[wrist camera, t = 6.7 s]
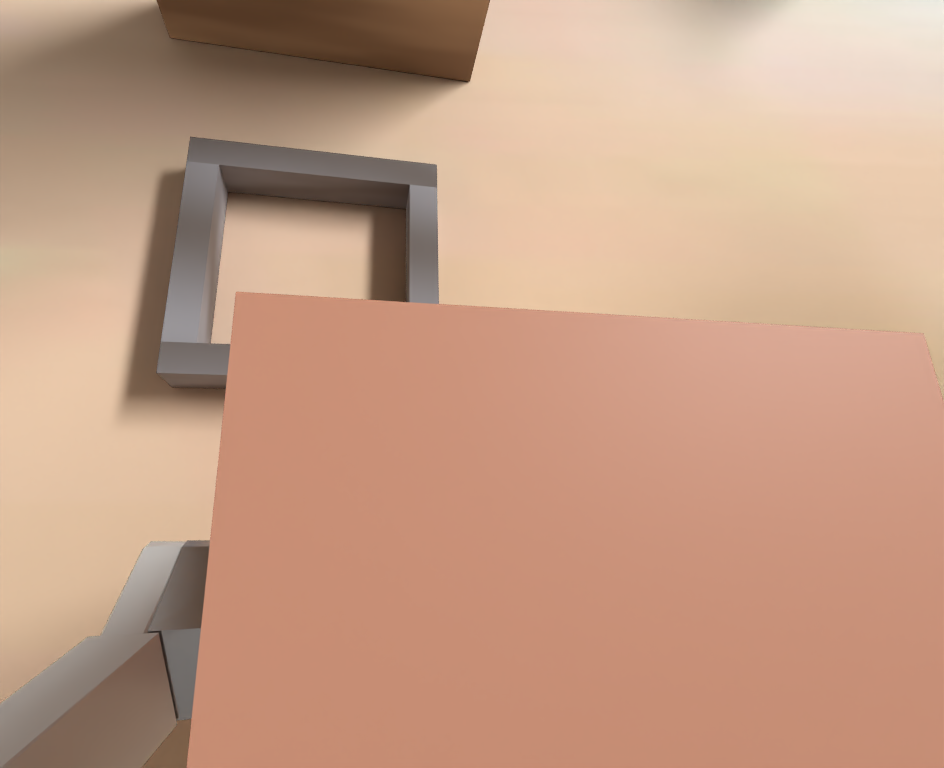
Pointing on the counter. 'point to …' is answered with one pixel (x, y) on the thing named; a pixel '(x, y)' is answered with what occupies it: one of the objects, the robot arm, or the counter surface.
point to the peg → (570, 543)
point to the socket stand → (304, 171)
